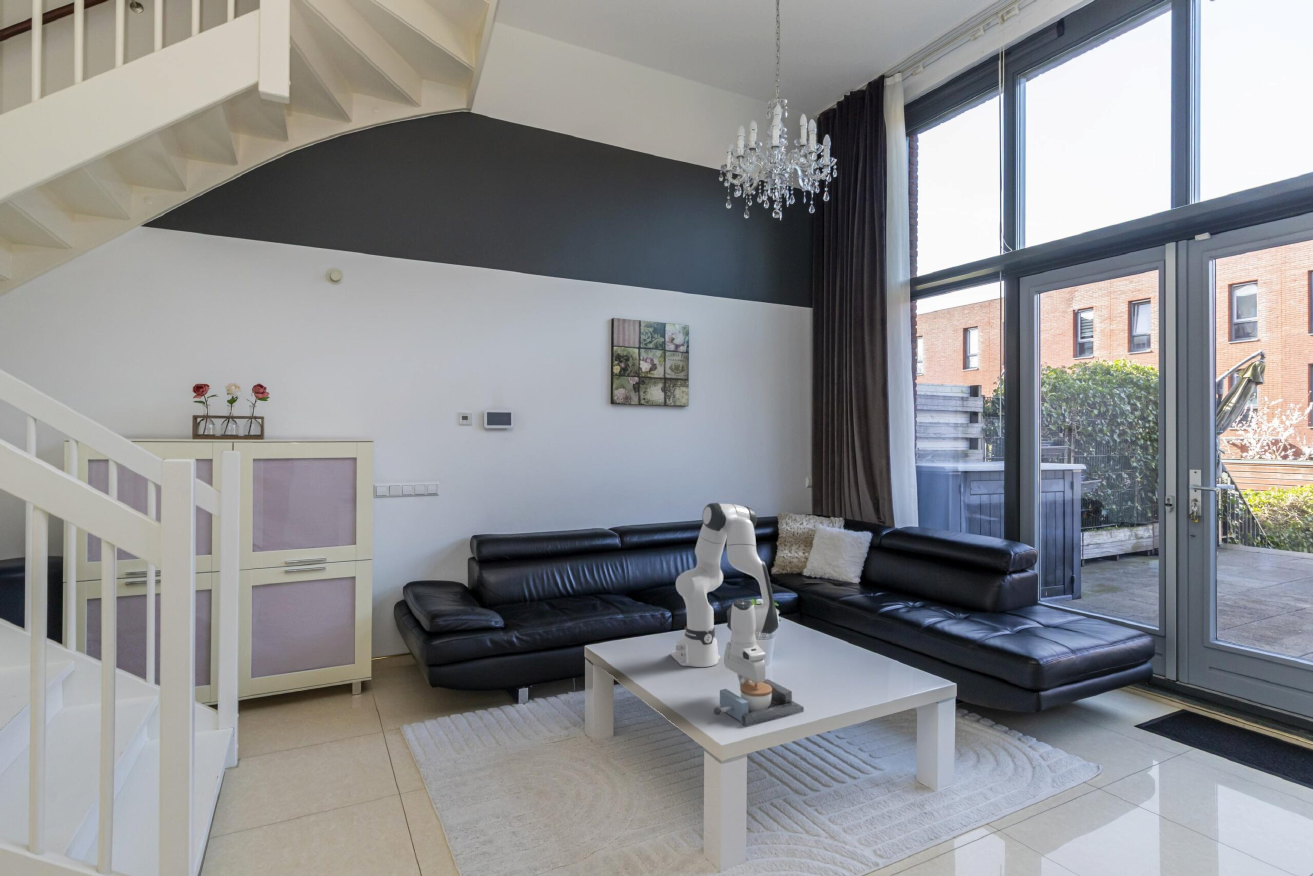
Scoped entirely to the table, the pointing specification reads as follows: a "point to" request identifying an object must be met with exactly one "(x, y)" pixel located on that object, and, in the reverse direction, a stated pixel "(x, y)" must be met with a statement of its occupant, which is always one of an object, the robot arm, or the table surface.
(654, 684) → the table surface
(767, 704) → the lidded jar
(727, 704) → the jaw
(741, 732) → the table surface
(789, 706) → the vise body
